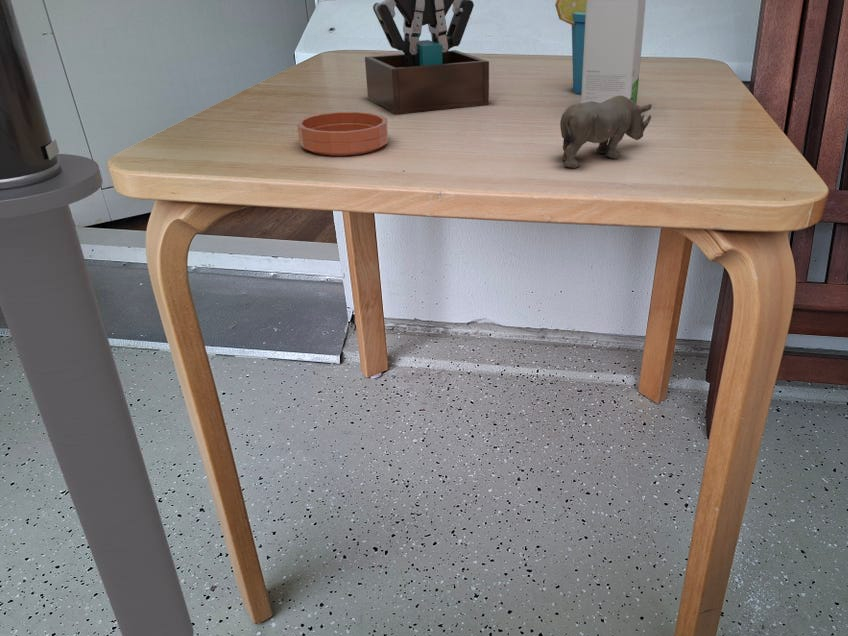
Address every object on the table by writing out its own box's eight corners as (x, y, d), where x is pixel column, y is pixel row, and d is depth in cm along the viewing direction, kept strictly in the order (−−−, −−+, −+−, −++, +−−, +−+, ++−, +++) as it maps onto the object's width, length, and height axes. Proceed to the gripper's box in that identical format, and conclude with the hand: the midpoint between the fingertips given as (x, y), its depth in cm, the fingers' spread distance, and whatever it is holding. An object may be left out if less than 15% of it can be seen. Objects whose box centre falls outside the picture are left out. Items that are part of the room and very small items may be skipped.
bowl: (313, 161, 77) (311, 136, 76) (291, 140, 84) (288, 116, 83) (400, 150, 81) (399, 126, 79) (371, 131, 88) (370, 108, 87)
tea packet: (412, 95, 103) (409, 41, 99) (430, 93, 104) (428, 39, 100) (424, 101, 100) (422, 45, 96) (443, 100, 101) (442, 44, 97)
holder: (394, 114, 95) (391, 69, 93) (367, 98, 104) (364, 56, 101) (488, 104, 100) (489, 61, 98) (456, 90, 109) (455, 50, 106)
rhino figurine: (663, 148, 82) (671, 91, 78) (574, 171, 74) (578, 109, 71) (635, 140, 84) (641, 85, 81) (546, 162, 77) (549, 101, 74)
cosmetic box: (628, 123, 91) (642, -19, 83) (575, 119, 93) (584, -20, 85) (637, 108, 98) (651, -24, 90) (587, 105, 100) (597, -25, 92)
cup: (617, 82, 114) (627, -28, 106) (650, 90, 108) (663, -25, 101) (541, 90, 108) (546, -25, 101) (572, 100, 103) (579, -21, 95)
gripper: (460, -66, 97) (461, 73, 106) (357, -65, 92) (368, 82, 101) (485, -64, 92) (485, 82, 101) (378, -63, 86) (387, 92, 95)
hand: (426, 81), depth 101 cm, fingers closed on tea packet, 2 cm apart
